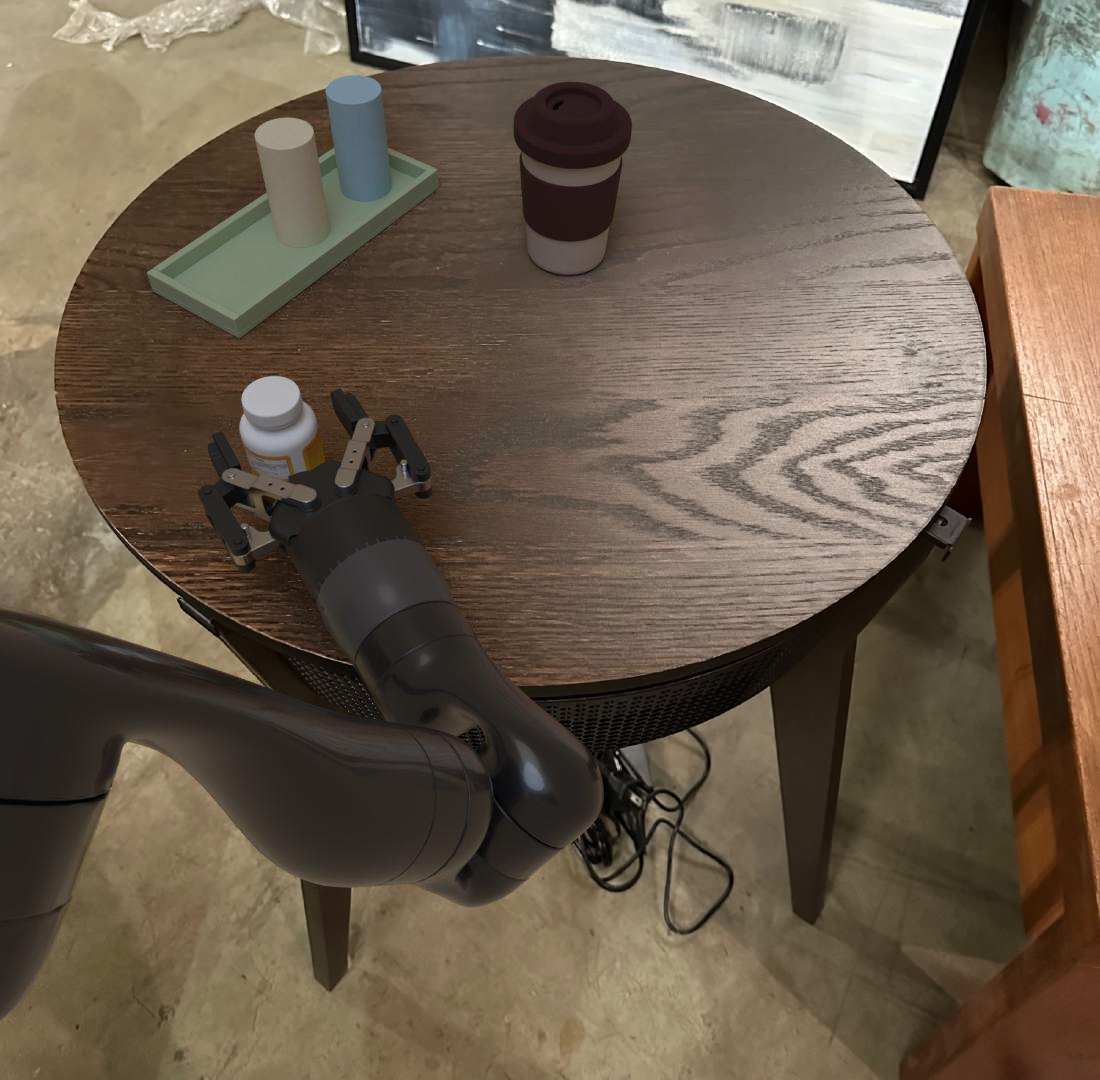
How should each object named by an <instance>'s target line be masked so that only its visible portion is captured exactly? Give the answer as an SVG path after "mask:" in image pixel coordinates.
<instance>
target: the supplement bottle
mask: <svg viewBox="0 0 1100 1080" xmlns="http://www.w3.org/2000/svg"><path fill="white" fill-rule="evenodd" d="M240 400H241V405H242V409H243V414H242V415H241V418H240V421H239V425H238V426H239V428H238V429H239V435H240V440H241V443H242V445H243V449H244V451H245V454H246V458H247V461H248V464H249V468H250V470H251V474H253V475H256V476H259V475H260V474H266V475H269V476H272V477H274V478H277V479H280V480H283V481H286V482H287V481H288V480H289V478H288V476H291V475H293V474H296V473H298V472H303V471H308V470H312V469H314V468H315V467H317V466H319V465H320V464H322V463H324V462H327V461H326V457H325V452H324V448H323V442H322V438H321V437H322V436H321V434H320V428H319V425H318V421H317V417H316V413H315V412H314V410H313V409H312V407H311V406H310V405H309V404H308V403H307V402H305V401H304V400H303V397H302V393H301V390H300V388H299V386H298V385H297V383H296V382H295V381H293V380H292V379H290V378H287V377H285V376H279V375H270V376H264V377H260V378H258V379H256V380H254V381H252V382H251V383H249V384H248V385H247V386H246V387H245V388H244V390H243V392H242V394H241V399H240ZM276 501H277V499H276Z"/></svg>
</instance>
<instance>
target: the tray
mask: <svg viewBox="0 0 1100 1080" xmlns="http://www.w3.org/2000/svg"><path fill="white" fill-rule="evenodd" d="M388 155H389V165H390V174H391V184H392V187H391V190H390V192H389V193H388V194H387V195H386V196H384V197H382V198H380V199H378V200H374V201H366V202H363V201H355V200H352V199H349V198H347V197H346V196H344V195H343V193H342V192H341V189H340V183H339V177H338V170H337V163H336V157H335V150H334V147H333V148H331V149H330V150H328V151H327V152H325V153H324V154H322V155H321V156H318V160H319V166H320V172H321V178H322V184H323V190H324V196H325V202H326V208H327V214H328V220H329V226H330V233H329V235H328V237H327V238H326V239H325V240H324V241H322V242H321V243H319V244H317V245H315V246H311V247H306V248H294V247H290V246H287V245H284V244H283V243H281V242H280V241H279V240H278V239H277V237H276V233H275V228H274V224H273V219H272V215H271V210H270V205H269V201H268V196H267V192H265V193H264V194H262V195H260V196H259V197H258V198H256V199H254V200H253V201H252V202H250V203H248V204H247V205H246V206H244V207H242V208H241V209H240V210H238V211H236V212H235V213H233V214H232V215H230V216H229V217H228V218H226V219H225V220H223V221H222V222H220V223H219V224H217V225H215V226H214V227H212V228H211V229H209V230H208V231H207V232H204V233H203V234H202V235H200V236H199V237H197V238H196V239H195V240H193V241H191V242H190V243H188V244H187V245H185V246H184V247H183V248H181V249H179V250H178V251H177V252H175V253H173V254H171V256H169V257H167V258H166V259H164V260H163V261H161V262H159V263H158V264H157V265H155V266H154V267H153V268H151V269H149V270H148V271H147V272H146V275H147V279H148V281H149V284H150V286H151V289H152V290H151V291H152V293H155V294H157V295H159V296H160V297H162V298H165V300H168V301H169V302H171V303H173V304H175V305H177V306H179V307H180V308H182V309H184V310H186V311H187V312H190V313H192V314H194V315H195V316H197V317H199V318H200V319H202V320H204V321H206V322H208V323H210V324H211V325H213V326H215V327H217V328H219V329H221V330H222V331H224V332H226V333H228V334H230V335H232V336H233V337H235V338H237V339H241V338H243V337H245V335H246V334H248V333H249V332H250V331H251V330H253V329H254V328H256V327H257V326H258V325H260V324H261V323H262V322H264V321H265V320H267V318H270V317H271V315H273V314H274V313H276V312H277V311H279V309H281V308H282V307H283V306H284V305H286V304H287V303H288V302H290V301H291V300H293V299H294V298H296V297H297V296H299V294H301V293H302V292H304V291H305V290H306V289H308V288H309V287H310V286H311V285H312V284H314V283H315V282H317V281H318V280H319V279H320V278H322V277H323V276H325V275H326V274H327V273H328V272H330V271H331V270H333V269H334V268H335V267H336V266H339V264H340V263H342V262H343V261H344V260H346V259H348V257H350V256H351V255H352V254H354V253H355V252H356V251H358V250H359V249H361V247H363V246H364V245H366V244H367V243H368V242H370V241H371V240H373V238H375V237H376V236H378V235H379V234H380V233H382V232H383V231H384V230H386V229H387V228H388V227H390V226H391V225H392V224H393V223H395V222H396V221H398V220H399V219H400V218H402V217H403V216H404V215H405V214H407V213H408V212H410V211H411V210H412V209H414V208H415V207H416V206H417V205H419V204H420V203H421V202H423V201H424V200H425V199H426V198H428V197H429V196H430V195H432V194H433V193H434V192H436V191H437V190H438V189H440V183H439V181H440V180H439V169H438V168H436V167H433V166H431V165H430V164H429V165H428V164H427V163H424V162H422V161H419V160H417V159H416V158H413V157H411V156H409V155H406V154H404V153H401V152H399V151H397V150H394V149H392V148H390V147H388Z"/></svg>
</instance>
